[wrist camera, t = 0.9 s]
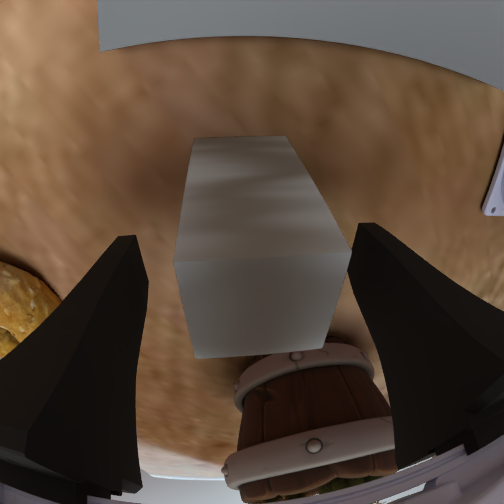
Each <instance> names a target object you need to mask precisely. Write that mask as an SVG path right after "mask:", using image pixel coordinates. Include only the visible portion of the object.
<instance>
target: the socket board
mask: <svg viewBox="0 0 504 504" xmlns="http://www.w3.org/2000/svg"><path fill="white" fill-rule="evenodd" d="M98 29H99V45H100V52H103V51H108V50H113V49H118V48H123V47H129V46H134V45H140V44H147V43H154V42H161V41H169V40H178V39H189V38H202V37H223V36H266V37H287V38H300V39H311V40H320V41H328V42H336V43H342V44H349V45H355V46H360V47H366V48H371V49H376V50H381V51H385V52H390V53H394V54H398V55H402V56H406V57H410V58H414V59H417V60H421V61H424V62H427V63H431V64H434V65H437V66H440V67H443V68H446V69H449V70H452V71H455V72H458V73H461V74H463V75H466V76H469V77H471V78H474V79H476V80H479V81H481V82H484V83H486V84H488V85H491V86H493V87H496V88H498V89H500V90H502V91H504V0H98Z"/></svg>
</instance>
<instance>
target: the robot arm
mask: <svg viewBox="0 0 504 504" xmlns="http://www.w3.org/2000/svg"><path fill="white" fill-rule="evenodd" d="M482 212H483V213H484V214H485V215H486V216H504V144H503V148H502V151H501V155H500V158H499V161H498V165H497V168H496V171H495V174H494V177H493V180H492V182H491V185H490V188H489V191H488V194H487V196H486V199H485V201H484V204H483V207H482ZM347 272H348V276H349V279H350V283H351V286H352V290H353V293H354V296H355V298H356V300H357V303H358V305H359V308H360V310H361V312H362V315H363V317H364V319H365V322H366V324H367V326H368V329H369V331H370V334H371V336H372V339H373V341H374V343H375V346H376V349H377V352H378V355H379V358H380V361H381V365H382V369H383V373H384V377H385V381H386V386H387V391H388V396H389V401H390V407H391V414H392V422H393V431H394V444H395V461H396V465H397V468H398V470H400V469H403V468H405V467H408V466H411V465H413V464H416V463H418V462H420V461H423V460H425V459H428V458H430V457H433V456H435V455H436V456H437V457H434V458H432V459H430V460H428V461H425V462H423V463H420V464H418V465H415V466H413V467H410V468H408V469H405V470H403V471H400V472H397V473H394V474H391V475H389V476H386V477H383V478H380V479H376V480H373V481H370V482H367V483H363V484H360V485H356V486H353V487H349V488H345V489H341V490H337V491H333V492H329V493H324V494H319V495H314V496H309V497H304V498H298V499H292V500H286V501H279V502H271V503H262V504H370V503H373V502H376V501H379V500H382V499H385V498H388V497H391V496H393V495H396V494H399V493H401V492H404V491H406V490H409V489H411V488H414V487H416V486H419V485H421V484H423V483H425V482H426V484H425V487H424V489H423V490H422V491H420V492H417V493H414V494H411V495H408V496H405V497H403V498H400V499H397V500H395V501H393V502H390V503H387V504H504V311H502V310H500V309H498V308H496V307H494V306H492V305H491V304H489V303H487V302H486V301H484V300H482V299H480V298H479V297H477V296H475V295H474V294H472V293H471V292H469V291H468V290H466V289H464V288H463V287H461V286H460V285H458V284H457V283H455V282H454V281H453V280H451V279H450V278H448V277H447V276H445V275H444V274H443V273H441V272H440V271H439V270H437V269H436V268H435V267H433V266H432V265H431V264H429V263H428V262H427V261H425V260H424V259H423V258H422V257H420V256H419V255H418V254H416V253H415V252H414V251H413V250H411V249H410V248H409V247H407V246H406V245H405V244H404V243H402V242H401V241H400V240H398V239H397V238H396V237H395V236H393V235H392V234H391V233H389V232H388V231H386V230H385V229H384V228H382V227H381V226H379V225H378V224H376V223H359V224H358V228H357V232H356V235H355V239H354V243H353V247H352V254H351V258H350V261H349V265H348V268H347ZM148 285H149V281H148V277H147V274H146V270H145V267H144V263H143V260H142V256H141V252H140V249H139V245H138V241H137V237H136V235H128V236H118V237H117V238H116V239H115V240H114V241H113V243H112V244H111V245H110V246H109V247H108V248H107V250H106V251H105V252H104V253H103V254H102V256H101V257H100V258H99V259H98V260H97V262H96V263H95V264H94V265H93V266H92V267H91V269H90V270H89V271H88V272H87V274H86V275H85V276H84V277H83V278H82V280H81V281H80V282H79V283H78V284H77V285H76V286H75V287H74V289H73V290H72V291H71V292H70V293H69V294H68V295H67V297H66V298H65V299H64V300H63V301H62V302H61V303H60V305H59V306H58V307H57V308H56V309H55V310H54V311H53V312H52V313H51V314H50V315H49V316H48V317H47V318H46V319H45V320H44V321H43V322H42V323H41V324H40V325H39V326H38V327H37V328H36V329H35V330H34V331H33V332H32V333H31V334H29V335H28V336H27V337H26V338H25V339H24V340H23V341H22V342H21V343H20V344H18V345H17V346H16V347H15V348H14V349H13V350H12V351H10V352H9V353H8V354H7V355H6V356H4V357H3V358H2V359H1V360H0V504H139V503H130V502H123V501H116V500H111V495H117V496H121V495H122V492H126V493H134V494H135V493H137V492H138V491H139V490H140V489H141V488H142V487H143V485H142V480H141V473H140V466H139V458H138V448H137V435H136V408H135V398H136V373H137V364H138V358H139V352H140V345H141V340H142V334H143V328H144V322H145V317H146V311H147V301H148Z"/></svg>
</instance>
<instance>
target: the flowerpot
mask: <svg viewBox="0 0 504 504" xmlns="http://www.w3.org/2000/svg"><path fill="white" fill-rule="evenodd" d="M373 378H374V368H373V366H372V364H371V362H370V361H369V359H368V355H367V353H366V352H362V351H361V350H360V349H358V348H356V347H354V346H352V345H348V344H344V343H343V342H342V340H340V339H339V338H336V337H328V338H326V339H325V341H324V344H323V347H322V348H319V349H311V350H303V351H294V352H285V353H275V354H264V355H258V356H257V357H256V358H255V359H254V360H252V361H251V363H250V364H249V366H248V368H247V369H246V370H245V371H244V372H243V373H242V374H241V376H240V377H239V379H238V382H236V383H235V384H234V388H235V395H234V402H235V405H236V407H237V409H238V410H239V411H240V412H242V413H243V414H242V420H241V426H240V431H239V438H238V445H237V452H235V453H233V454H231V455H230V456H229V457H228V458H227V459H226V460H225V463H224V467H223V468H222V469H221V471H222V473H223V474H224V477H225V481H226V483H227V486H228V487H229V488H231V489H234V490H240V495H241V499H242V501H243V502H244V503H248V504H262V503H271V502H279V501H286V500H292V499H298V498H304V497H309V496H313V495H316V494H324V493H329V492H333V491H337V490H341V489H345V488H349V487H353V486H356V485H360V484H363V483H367V482H370V481H373V480H376V479H380V478H383V477H386V476H389V475H391V474H394V473H396V472H397V471H398V468H397V465H396V461H395V444H394V431H393V422H392V414H391V408H390V406H389V404H388V403H387V401H386V399H385V398H384V396H383V395H382V393H381V392H380V391H379V389H378V388H377V386H376V385H375V383H374V382H373ZM378 502H379V501H377V504H381V503H378ZM373 503H376V502H373ZM373 503H370V504H373Z"/></svg>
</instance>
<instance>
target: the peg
mask: <svg viewBox="0 0 504 504" xmlns="http://www.w3.org/2000/svg"><path fill="white" fill-rule="evenodd" d="M351 254H352V251H351V249H350V247H349V245H348V243H347V241H346V239H345V237H344V236H343V234H342V232H341V230H340V228H339V226H338V224H337V223H336V221H335V219H334V217H333V215H332V213H331V212H330V210H329V208H328V206H327V204H326V203H325V201H324V199H323V197H322V196H321V194H320V192H319V190H318V189H317V187H316V185H315V183H314V182H313V180H312V178H311V177H310V175H309V173H308V171H307V170H306V168H305V166H304V165H303V163H302V161H301V160H300V158H299V157H298V155H297V153H296V152H295V150H294V148H293V147H292V145H291V144H290V142H289V140H288V139H287V137H286V136H240V137H216V138H199V139H194V142H193V147H192V152H191V157H190V162H189V168H188V173H187V179H186V184H185V190H184V196H183V202H182V208H181V214H180V220H179V227H178V233H177V240H176V247H175V255H174V267H175V272H176V277H177V282H178V286H179V291H180V295H181V300H182V304H183V309H184V313H185V317H186V322H187V326H188V330H189V334H190V338H191V342H192V346H193V350H194V354H195V357H196V359H200V358H222V357H238V356H252V355H264V354H275V353H285V352H294V351H303V350H311V349H319V348H322V347H323V344H324V341H325V339H326V336H327V333H328V330H329V327H330V324H331V321H332V318H333V314H334V311H335V308H336V305H337V302H338V299H339V295H340V292H341V289H342V285H343V282H344V279H345V275H346V272H347V268H348V265H349V261H350V258H351Z"/></svg>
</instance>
